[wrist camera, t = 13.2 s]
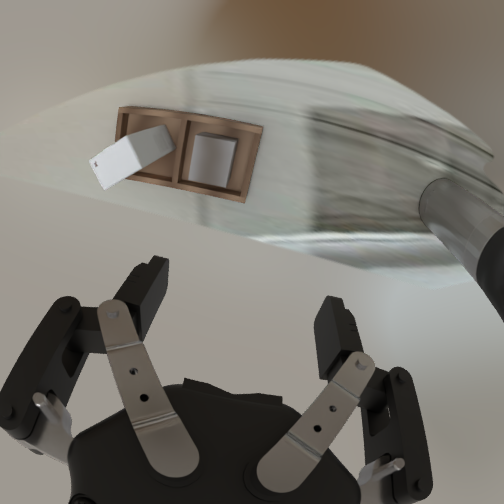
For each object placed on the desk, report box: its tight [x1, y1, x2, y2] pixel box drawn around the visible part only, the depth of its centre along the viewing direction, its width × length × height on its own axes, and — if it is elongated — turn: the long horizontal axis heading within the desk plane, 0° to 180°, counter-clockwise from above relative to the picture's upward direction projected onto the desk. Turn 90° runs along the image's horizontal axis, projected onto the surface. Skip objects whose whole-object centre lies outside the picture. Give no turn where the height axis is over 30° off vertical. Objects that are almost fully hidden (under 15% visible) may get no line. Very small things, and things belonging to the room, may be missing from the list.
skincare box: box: [89, 124, 176, 191], centre depth 31 cm, size 6×4×12 cm
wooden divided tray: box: [115, 106, 263, 203], centre depth 35 cm, size 20×11×5 cm, turn 77°
